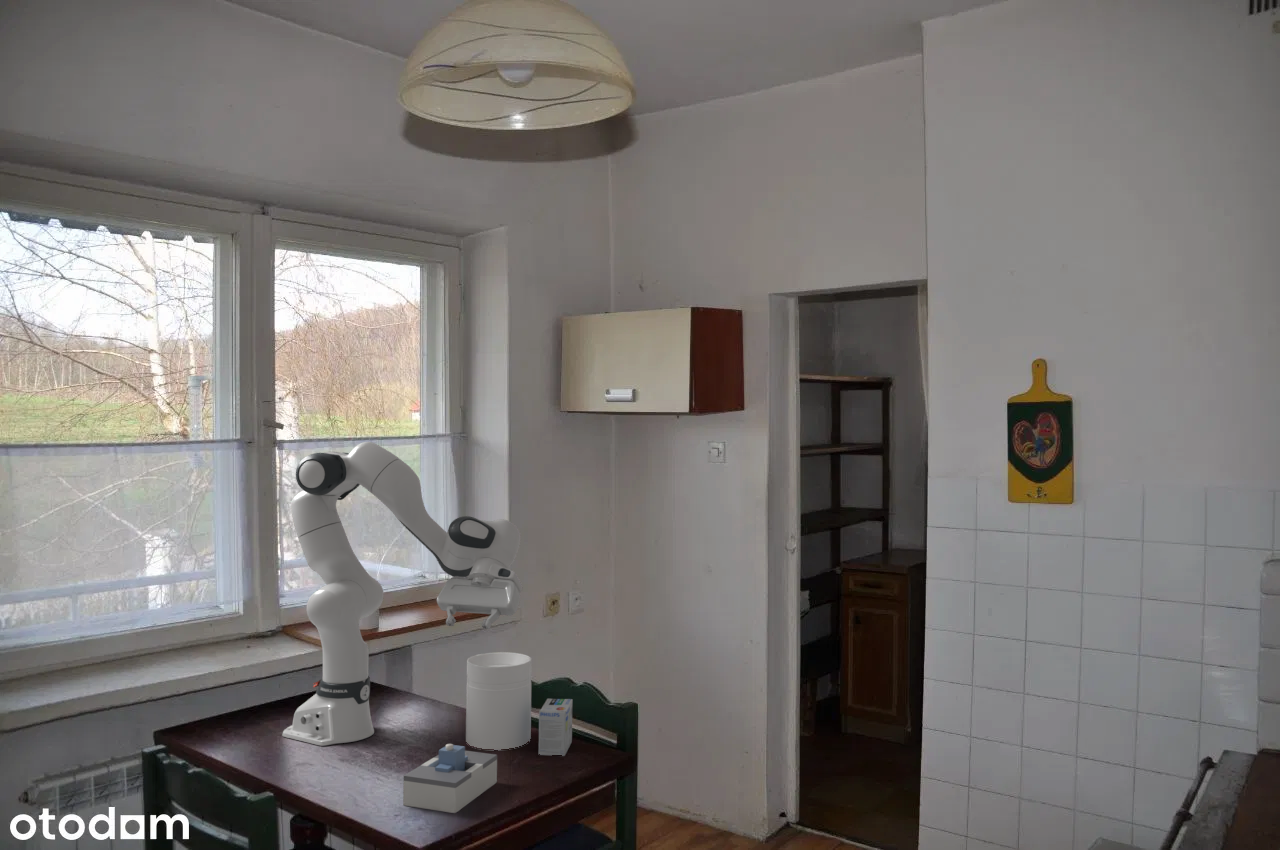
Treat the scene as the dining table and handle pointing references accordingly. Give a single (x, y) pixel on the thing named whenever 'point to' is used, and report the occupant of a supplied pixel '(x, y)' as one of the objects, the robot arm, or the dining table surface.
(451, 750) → the block
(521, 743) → the canister
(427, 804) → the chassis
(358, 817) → the dining table surface
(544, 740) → the light bulb box
